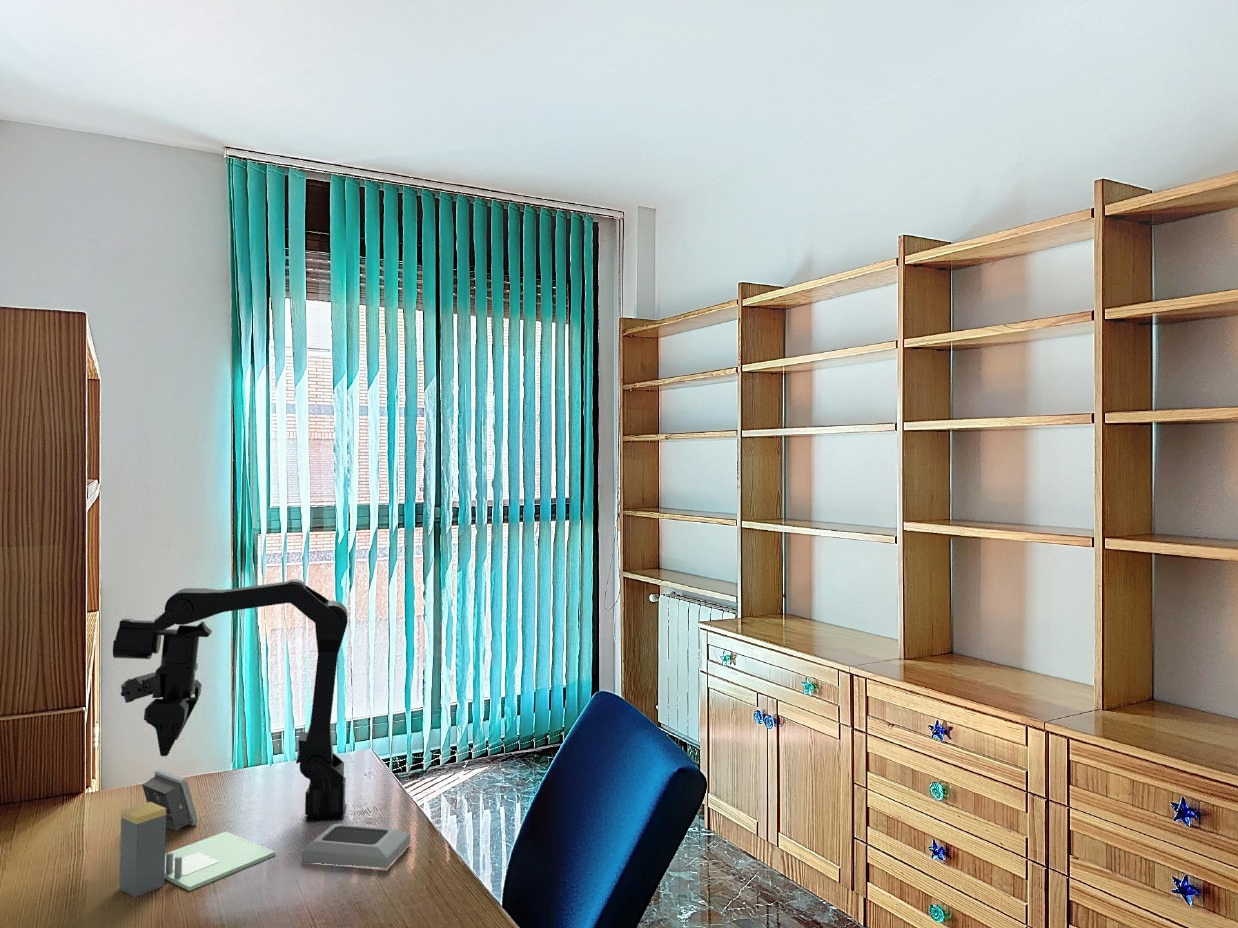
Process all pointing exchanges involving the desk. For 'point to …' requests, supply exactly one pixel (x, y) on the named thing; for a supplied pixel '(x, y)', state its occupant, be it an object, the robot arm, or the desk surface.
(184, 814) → the electrical switch
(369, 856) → the grey beveled box
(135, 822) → the plug block
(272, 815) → the desk surface
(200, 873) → the board
